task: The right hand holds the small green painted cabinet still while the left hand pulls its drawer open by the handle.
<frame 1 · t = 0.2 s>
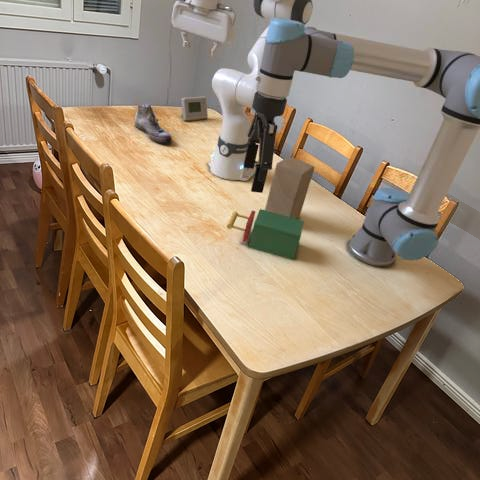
left hand: (199, 52, 131), 48 cm above the table, tool pointing down, fingers open, 8 cm apart
right hand: (252, 179, 111), 28 cm above the table, tool pointing down, fingers open, 13 cm apart
shoe: (153, 135, 198), on the table
digital clock: (193, 118, 227), on the table
cabinet: (273, 245, 140), on the table
drawer: (258, 228, 138), point 4 cm above the table, slide at 1.1 cm
wooden block: (281, 216, 157), on the table
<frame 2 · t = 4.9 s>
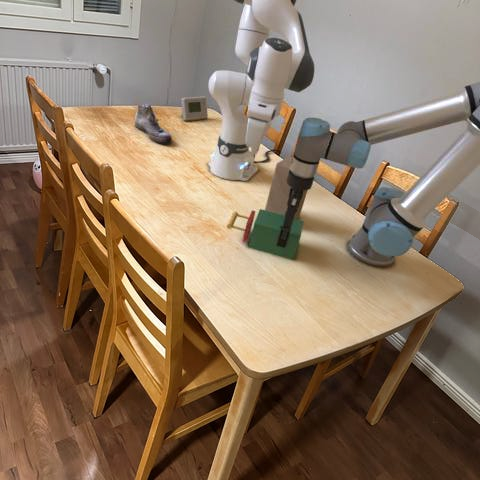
left hand: (254, 152, 126), 28 cm above the table, tool pointing down, fingers closed
right hand: (283, 237, 138), 4 cm above the table, tool pointing down, fingers closed on cabinet, 10 cm apart
cabinet: (273, 245, 140), on the table, touching right hand
everything else where it was.
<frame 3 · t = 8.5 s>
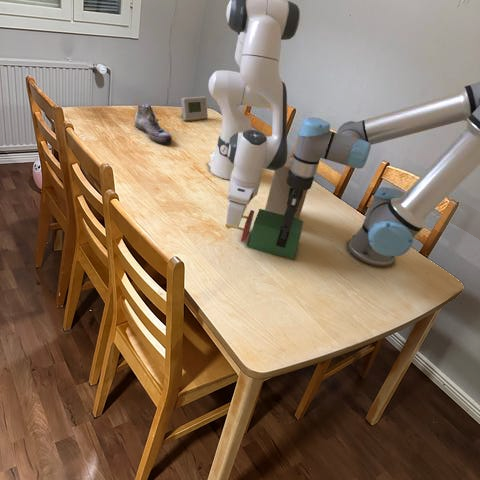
left hand: (235, 224, 139), 3 cm above the table, tool pointing down, fingers closed, pressing on drawer
right hand: (282, 237, 138), 4 cm above the table, tool pointing down, fingers closed on cabinet, 10 cm apart
cabinet: (272, 244, 140), on the table, touching right hand
drawer: (257, 228, 138), point 4 cm above the table, slide at 1.4 cm, touching left hand
everything else where it was.
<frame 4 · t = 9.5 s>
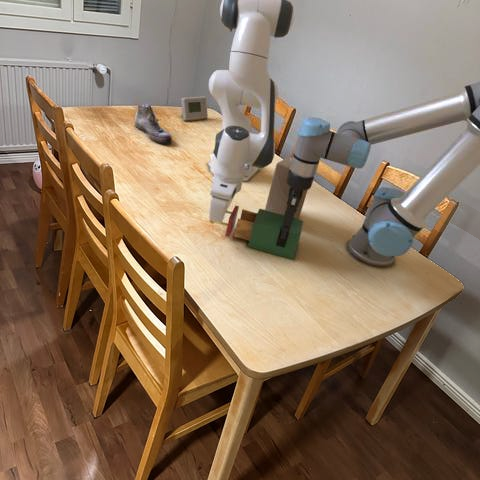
left hand: (219, 220, 139), 3 cm above the table, tool pointing down, fingers closed, pressing on drawer
right hand: (282, 237, 138), 4 cm above the table, tool pointing down, fingers closed on cabinet, 10 cm apart
cabinet: (272, 244, 140), on the table, touching right hand
drawer: (241, 223, 138), point 4 cm above the table, slide at 6.4 cm, touching left hand
everything else where it was.
when the right hand's fingers open (4 cm above the table, at t = 11.1 s): cabinet stays where it is, on the table.
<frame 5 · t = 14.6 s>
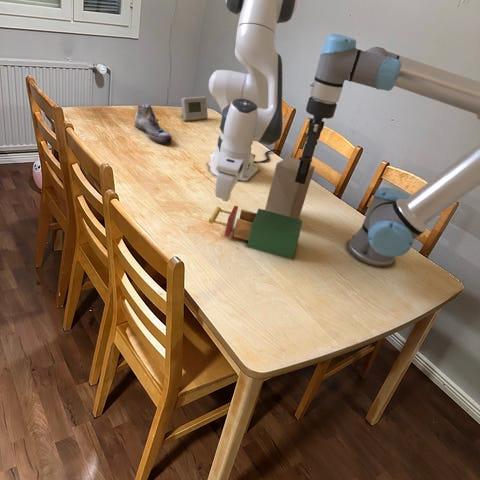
left hand: (225, 199, 135), 11 cm above the table, tool pointing down, fingers closed
right hand: (301, 173, 126), 26 cm above the table, tool pointing down, fingers open, 13 cm apart
cabinet: (271, 244, 140), on the table
drawer: (240, 223, 138), point 4 cm above the table, slide at 6.4 cm
everything else where it was.
at the end: drawer slide at 6.4 cm; cabinet tilted 0°; cabinet never tilted more than 2° during the clip; cabinet moved 0.5 cm from its start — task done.
